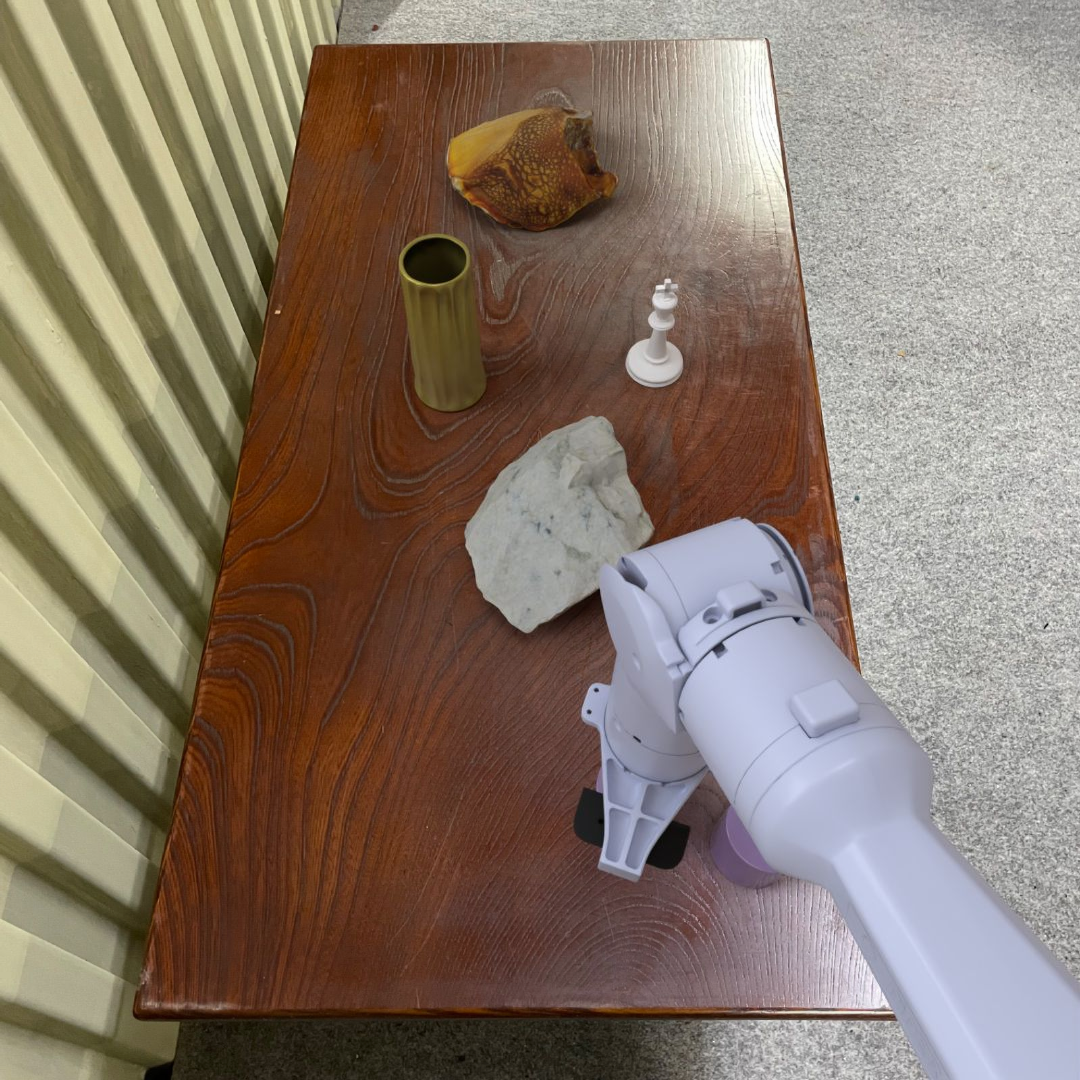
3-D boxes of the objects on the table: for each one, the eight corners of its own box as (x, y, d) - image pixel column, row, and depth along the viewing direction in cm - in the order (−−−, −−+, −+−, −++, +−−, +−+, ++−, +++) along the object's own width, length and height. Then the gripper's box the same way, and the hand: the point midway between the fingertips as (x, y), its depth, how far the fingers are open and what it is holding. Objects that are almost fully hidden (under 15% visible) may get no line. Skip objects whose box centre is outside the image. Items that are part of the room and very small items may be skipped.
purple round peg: (776, 902, 60) (799, 887, 55) (699, 867, 61) (714, 850, 56) (799, 826, 62) (824, 805, 57) (725, 794, 63) (741, 770, 58)
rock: (416, 515, 74) (403, 458, 67) (581, 424, 78) (586, 361, 71) (523, 667, 67) (521, 622, 60) (696, 558, 72) (713, 505, 65)
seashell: (428, 193, 85) (450, 65, 90) (447, 246, 92) (467, 125, 97) (612, 191, 82) (624, 59, 87) (617, 246, 89) (629, 121, 94)
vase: (475, 348, 82) (463, 220, 69) (496, 402, 79) (487, 279, 66) (407, 366, 81) (382, 239, 68) (425, 421, 78) (403, 299, 65)
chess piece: (621, 345, 82) (631, 260, 73) (677, 340, 82) (693, 255, 73) (630, 390, 79) (641, 307, 71) (687, 385, 80) (706, 302, 71)
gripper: (634, 535, 46) (614, 642, 58) (537, 818, 40) (537, 873, 52) (774, 577, 45) (725, 677, 57) (699, 875, 39) (661, 918, 51)
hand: (644, 773), depth 54 cm, fingers open, 7 cm apart
